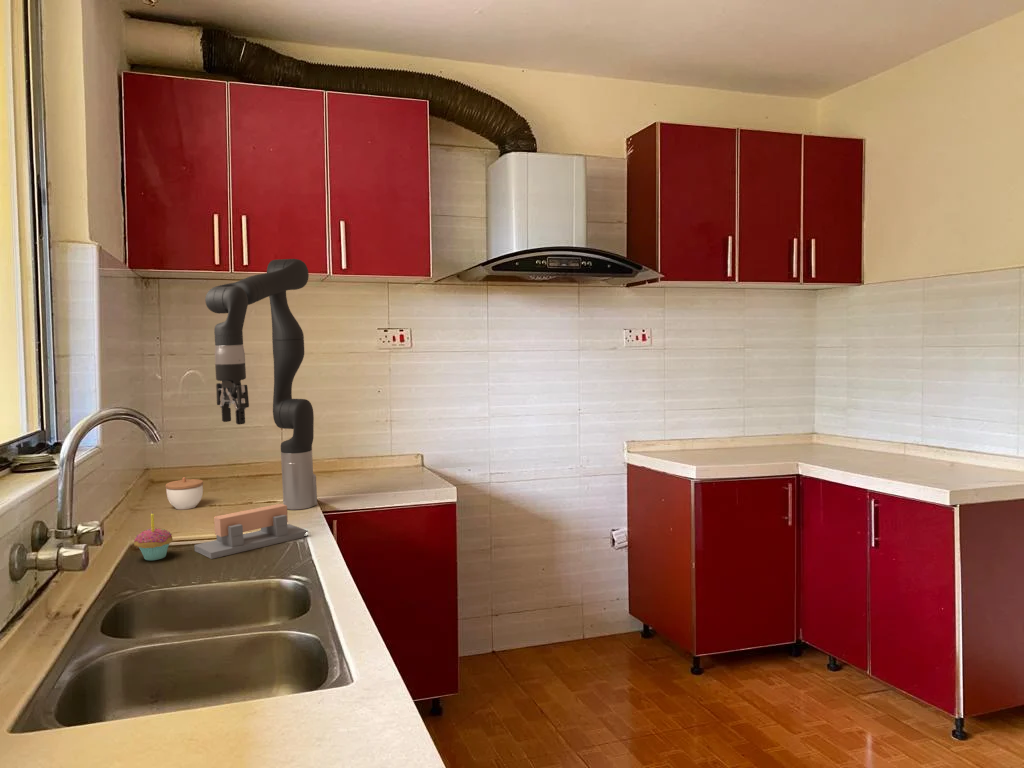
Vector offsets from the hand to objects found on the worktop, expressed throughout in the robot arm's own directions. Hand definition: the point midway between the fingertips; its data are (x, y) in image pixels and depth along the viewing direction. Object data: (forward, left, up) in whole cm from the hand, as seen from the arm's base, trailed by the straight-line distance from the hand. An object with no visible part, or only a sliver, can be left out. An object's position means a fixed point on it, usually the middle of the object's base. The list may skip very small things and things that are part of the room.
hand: (233, 422), depth 208 cm
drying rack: (+2, +12, -30) cm, 32 cm away
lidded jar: (-2, -42, -30) cm, 52 cm away
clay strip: (+2, +12, -26) cm, 29 cm away
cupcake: (+24, +5, -30) cm, 39 cm away
